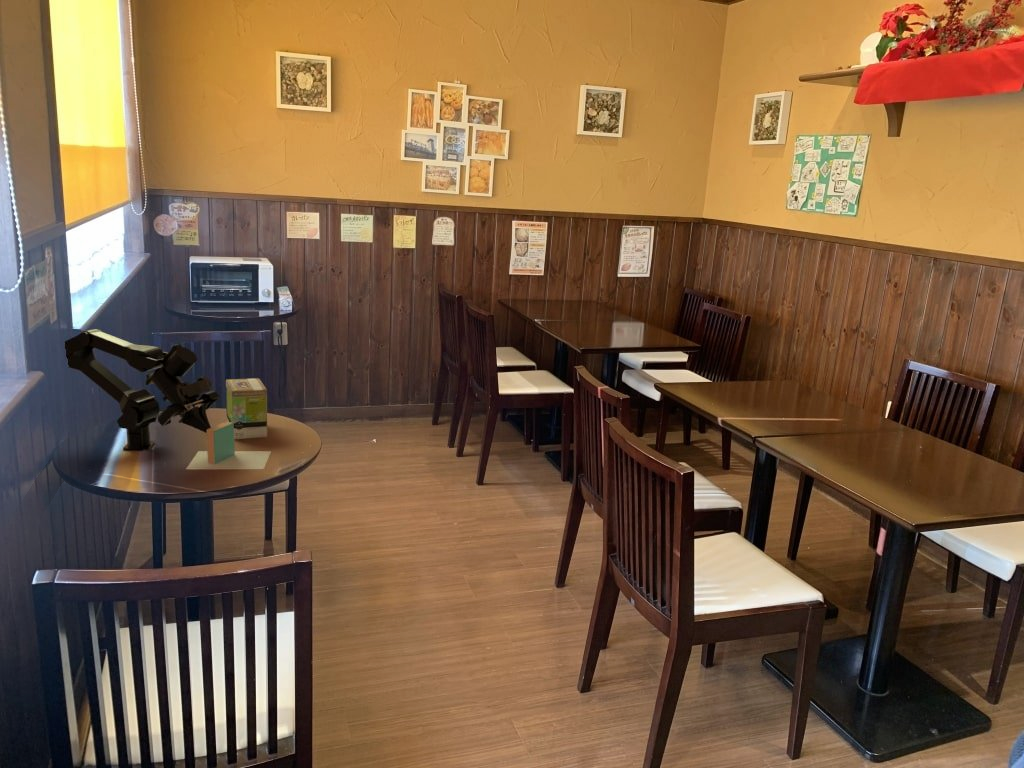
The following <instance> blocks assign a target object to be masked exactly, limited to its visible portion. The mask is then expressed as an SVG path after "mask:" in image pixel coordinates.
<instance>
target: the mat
mask: <svg viewBox="0 0 1024 768" xmlns="http://www.w3.org/2000/svg"><path fill="white" fill-rule="evenodd" d="M234 451H235V455H233V456H231V457H229V458H227V459H225V460H223V461H221V462H219V463H217V464H213V463H208V453H207V450H201V451H199V450H198V451H197V453H196V454H195V455H194V457H193V458H192V460H191V461H190V463H189V464H188V466H187V467H186V468H185V470H265V467H266V465H267V462H268V460H269V458H270V456H271V452H272V451H270V450H268V451H267V450H264V451H263V450H262V451H261V450H259V451H256V450H253V451H252V450H249V451H248V450H244V451H243V450H241V451H239V450H238V451H237V450H234Z"/></svg>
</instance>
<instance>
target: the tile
mask: <svg viewBox="0 0 1024 768" xmlns="http://www.w3.org/2000/svg"><path fill="white" fill-rule="evenodd" d="M206 444H207V445H206V446H207V447H206V449H207V450H206V451H207V453H208V463H213V464H217V463H219V462H221V461H223V460H225V459H227V458H229V457H231V456H233V455H235V451H236V450H235V439H234V423H232V422H227V421H225V422H221V423H219V424H216V425H213V426H211V428H209V429H207V433H206Z"/></svg>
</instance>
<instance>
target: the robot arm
mask: <svg viewBox="0 0 1024 768" xmlns="http://www.w3.org/2000/svg"><path fill="white" fill-rule="evenodd" d="M64 342H65V349H66V357H67V359H68V365H69V367H68V368H69V369H73V370H77V371H78V372H79V371H80V372H81V373H82V374H83V375H85V376H86V377H87V378H88V379H89V380H91V381H92V382H93V383H94V384H96V386H98V387H99V388H101V389H102V390H103V391H104V392H105V393H107V395H108V396H110V397H111V398H112V399H114V400H115V401H116V403H118V404H119V408H120V412H121V413H122V414H121V416H119V417H118V419H117V420H116V422H117V425H118V427H119V428H120V429H124V430H126V444H125V445H124V446H123V447H122V450H123V451H125V450H126V451H127V450H129V451H135V450H137V451H147V450H150V449H151V447H153V445H154V444H155V440H151V431H150V429H151V428H150V427H151V426H150V424H153V423H156V422H158V423H159V424H160V425H161V427H162V428H163V427H165V426H169V425H170V424H171V423H172V420H171V419H172V418H175V417H177V416H179V418H180V419H179V420H178V423H179V424H184V425H187V426H188V427H192V428H194V429H196V430H199V431H201V432H203V433H205V434H207V429H209V428H212V426H211V424H210V421H209V419H208V416H207V410H209V409H210V408H211V407H212V406H213V405H214V404H215V403H216V402H217V401H218V400H219V399H220V398H221V396H220V395H219V394H218V392H217V391H214V390H211V388H210V387H212V381H211V380H210V379H209V378H208V377H207V375H203V376H201V377H199V378H197V381H196V382H195V381H194V382H193V383H190V381H189V382H188V381H184V382H183V381H182V379H181V377H184V376H185V375H186V374H187V373H188V371H190V370H191V368H193V366H194V365H195V364H196V363H197V362H198V357H197V355H196V354H195V352H194V351H192V350H190V349H189V348H187V347H185V346H182V345H181V344H180V343H176V344H174V345H173V346H172V347H171V348H170V350H169V351H168V352H167V351H163V350H162V348H160V347H158V346H153V345H148V344H147V345H145V344H141V345H140V344H136V343H135V344H134V343H131V342H129V341H127V340H124V339H121V338H119V337H117V336H114V335H112V334H108V333H106V332H103V331H102V330H101V329H98V328H93V329H89V330H83V331H82V332H80V333H79V334H77V335H76V336H73V337H72V338H69V339H67V340H65V341H64ZM95 349H96V350H99V351H102V352H105V353H107V354H110V355H112V356H114V357H118V358H120V359H123V360H124V361H125V362H126V363H127V364H128V366H129V367H131V368H133V369H134V370H136V371H137V372H140V373H145V372H148V371H152V370H154V371H153V372H152V373H150V374H146V379H145V386H150V385H153V384H154V385H155V386H156V387H157V388H158V390H159V391H160V392H161V394H162V395H163V397H162V400H163V402H169V404H170V405H167V406H166V407H165V408H164V409H163V410H162V411H161V413H160V403H159V401H158V400H156V398H157V397H156V396H154V395H152V394H151V393H150V392H149V391H148V390H147V389H145V388H141V389H139V390H135V389H132V388H131V387H130V386H129V385H128V384H127V383H125V381H123V380H122V379H120V378H119V377H118V376H117V375H115V374H114V373H113V372H112V371H111V370H110V369H108V368H107V367H106V366H105V365H104V364H102V363H101V362H100V361H99V360H98V359H96V356H95V353H94V350H95ZM202 393H203V394H202Z"/></svg>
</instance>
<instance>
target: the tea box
mask: <svg viewBox="0 0 1024 768" xmlns="http://www.w3.org/2000/svg"><path fill="white" fill-rule="evenodd" d="M225 405H226V407H225V409H226V414H225V415H226V422H232V423H234V440H242V439H243V440H244V439H252V438H263V437H265V438H267V436H268V389H267V388H266V386H265V385H264V383H263V382H262V380H261V379H260V378H256V377H255V378H237V379H236V378H234V379H233V378H232V379H230V378H229V379H225Z"/></svg>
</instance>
